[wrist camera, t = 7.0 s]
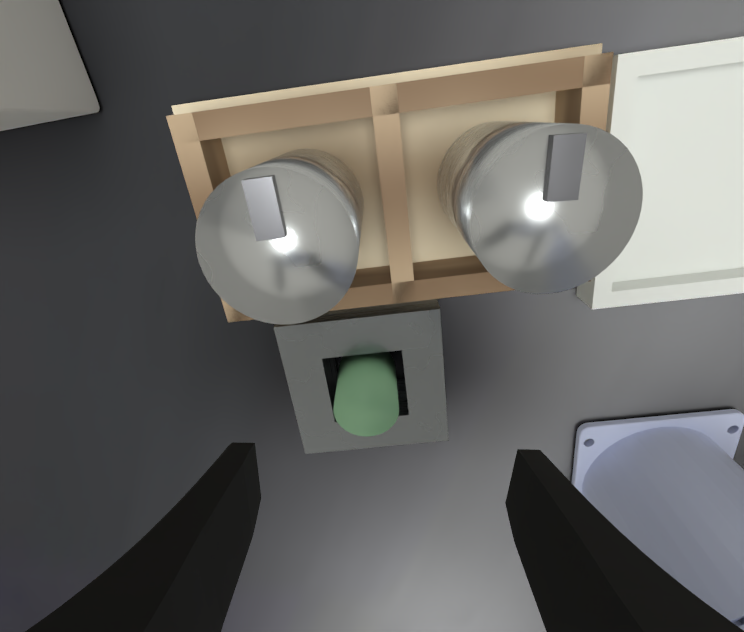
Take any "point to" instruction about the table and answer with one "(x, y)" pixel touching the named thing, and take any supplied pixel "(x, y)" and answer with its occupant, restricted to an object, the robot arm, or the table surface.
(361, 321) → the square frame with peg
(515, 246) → the cylinder
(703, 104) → the square tray
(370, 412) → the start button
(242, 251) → the cylinder
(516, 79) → the wooden compartment tray
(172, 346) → the table surface
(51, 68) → the milk carton
